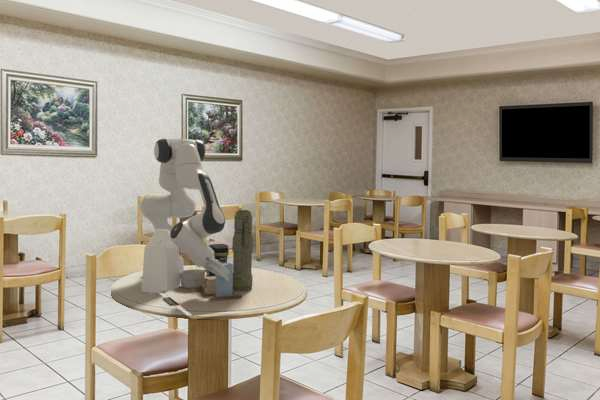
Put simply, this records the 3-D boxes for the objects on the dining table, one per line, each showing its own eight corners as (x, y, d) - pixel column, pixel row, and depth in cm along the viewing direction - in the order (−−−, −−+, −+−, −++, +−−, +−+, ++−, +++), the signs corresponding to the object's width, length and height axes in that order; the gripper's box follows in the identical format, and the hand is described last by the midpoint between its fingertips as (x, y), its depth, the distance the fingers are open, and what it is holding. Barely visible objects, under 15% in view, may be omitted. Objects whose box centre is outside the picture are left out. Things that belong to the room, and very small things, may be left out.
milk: (180, 288, 230) (181, 228, 228) (167, 294, 219) (167, 232, 217) (156, 285, 233) (156, 227, 232) (141, 291, 222) (142, 230, 220)
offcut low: (202, 291, 220) (202, 284, 220) (225, 289, 225) (225, 282, 225) (207, 294, 216) (207, 287, 216) (229, 291, 221) (229, 284, 221)
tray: (195, 293, 220) (195, 288, 220) (224, 290, 227) (224, 285, 227) (211, 304, 205) (211, 298, 205) (241, 300, 212) (241, 295, 212)
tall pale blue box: (215, 295, 214) (215, 264, 213) (228, 294, 217) (229, 263, 216) (218, 297, 211) (219, 265, 210) (232, 296, 214) (232, 264, 213)
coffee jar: (211, 287, 232) (212, 245, 231) (203, 284, 238) (204, 243, 237) (230, 285, 238) (231, 244, 237) (222, 281, 244) (222, 242, 243)
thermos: (237, 295, 220) (238, 212, 217) (227, 289, 230) (229, 209, 228) (256, 293, 224) (258, 211, 222) (246, 287, 234) (248, 209, 232)
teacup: (185, 293, 221) (186, 274, 221) (175, 287, 230) (175, 269, 230) (215, 289, 230) (216, 271, 229) (204, 284, 238) (205, 266, 238)
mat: (163, 299, 210) (163, 297, 210) (187, 296, 216) (187, 295, 216) (170, 305, 202) (170, 303, 202) (195, 302, 207) (195, 301, 207)
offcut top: (204, 284, 220) (204, 277, 220) (224, 282, 225) (224, 275, 224) (208, 286, 216) (208, 279, 216) (228, 284, 220) (228, 277, 220)
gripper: (218, 254, 200) (241, 277, 206) (199, 246, 217) (221, 267, 223) (207, 266, 198) (230, 290, 204) (188, 257, 215) (211, 279, 221)
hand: (225, 278), depth 213 cm, fingers closed on tall pale blue box, 3 cm apart
